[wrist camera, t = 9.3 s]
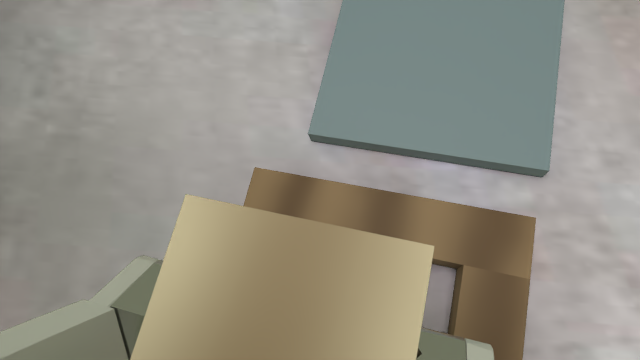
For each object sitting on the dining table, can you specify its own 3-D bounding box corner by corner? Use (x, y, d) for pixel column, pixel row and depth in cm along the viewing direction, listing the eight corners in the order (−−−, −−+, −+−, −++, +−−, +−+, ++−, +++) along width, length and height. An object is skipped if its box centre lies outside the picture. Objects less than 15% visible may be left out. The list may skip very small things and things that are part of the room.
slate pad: (311, 140, 34) (308, 133, 32) (351, -13, 38) (349, -26, 36) (541, 177, 30) (549, 170, 28) (558, 0, 34) (565, -14, 32)
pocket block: (191, 442, 28) (169, 457, 26) (266, 178, 33) (254, 167, 31) (487, 550, 24) (500, 583, 21) (521, 226, 29) (536, 217, 26)
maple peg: (244, 385, 14) (94, 467, 7) (281, 245, 15) (185, 194, 8) (386, 431, 13) (379, 584, 6) (413, 275, 14) (434, 246, 7)
